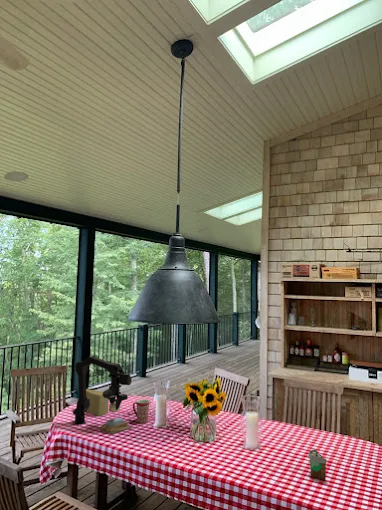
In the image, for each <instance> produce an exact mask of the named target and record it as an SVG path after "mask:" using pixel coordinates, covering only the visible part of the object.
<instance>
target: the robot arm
mask: <svg viewBox="0 0 382 510" xmlns="http://www.w3.org/2000/svg"><path fill="white" fill-rule="evenodd" d="M90 365H95V366H97V367H100V368H102V369H105V370H106V371H107V372H109V374H108V375H107V377H108V378H110V385H109V386H108V388H107V389H106V390H105V391H102V392H103V396H104V398H107V399H108V400H109V404H111V403H115V402H116V410H118V408H119V406H120V407H121V404H122V402H123V401H125V400H128V397H129V395H127V394H125V393H122V391H120V389H121V388H122V386H131V384H132V376H131V374H130V373H125V372H124V370H123V368H122V366H121V363H116V362H109V361H106V360H103V359H101V358H98V357H95V356H92V355H91V356H89V357H87V358H86V359H84V360H81V361H77V362H76V363H75V366H74V368H75V373H76V375H77V376H78V377H77V380H78V383H77V384H78V399H77V401H76V407H75V408H74V409H73V410H72V415H74V421H73V422H72V424H75V425H78V426H79V425H83V424H86V423H87V421H86V419H85V418H86V415H85V413H88V412H87V409H88V408H89V405H90V399H87V397H86V389H87V376H86V375H87V373H88V370H89V369H88V368H89V366H90Z"/></svg>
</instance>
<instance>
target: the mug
mask: <svg viewBox="0 0 382 510" xmlns="http://www.w3.org/2000/svg"><path fill="white" fill-rule="evenodd" d="M150 402H151V401H150V400H149V399H145V398H144V399H143V398H141V399H137V400H136V401H134V402H133V403H132V409H133V412H134V415H135V417H136V423H138V424H146V423H148V421H149V410H150ZM135 405H136V407H135Z"/></svg>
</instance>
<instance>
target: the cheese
mask: <svg viewBox="0 0 382 510" xmlns="http://www.w3.org/2000/svg"><path fill="white" fill-rule="evenodd" d="M103 392H104V391H102V390H94V389H90V388H89V389H88V388H86V397H87V399H90V405H89V408H88V409H87V412H86V413H90V414H92V415H95V416H97V417H102V416H104V415H107V414H108V413H109V403H110V401H109V400H108V399H107V398H104V396H103Z"/></svg>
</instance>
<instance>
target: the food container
mask: <svg viewBox="0 0 382 510" xmlns="http://www.w3.org/2000/svg"><path fill="white" fill-rule="evenodd" d="M317 450H318V449H317V448H316V449H311V450H309V451H308V456H307V457H308V459H309V466H310V468H309V469H310V475H311V476H312V477H313V478H314V479H318V480H323V481H325V480H326V476H327V475H326V472H327V471H326V470H327V458H325V457H323V456H322V454H321V453H319V452H318V451H317Z"/></svg>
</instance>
